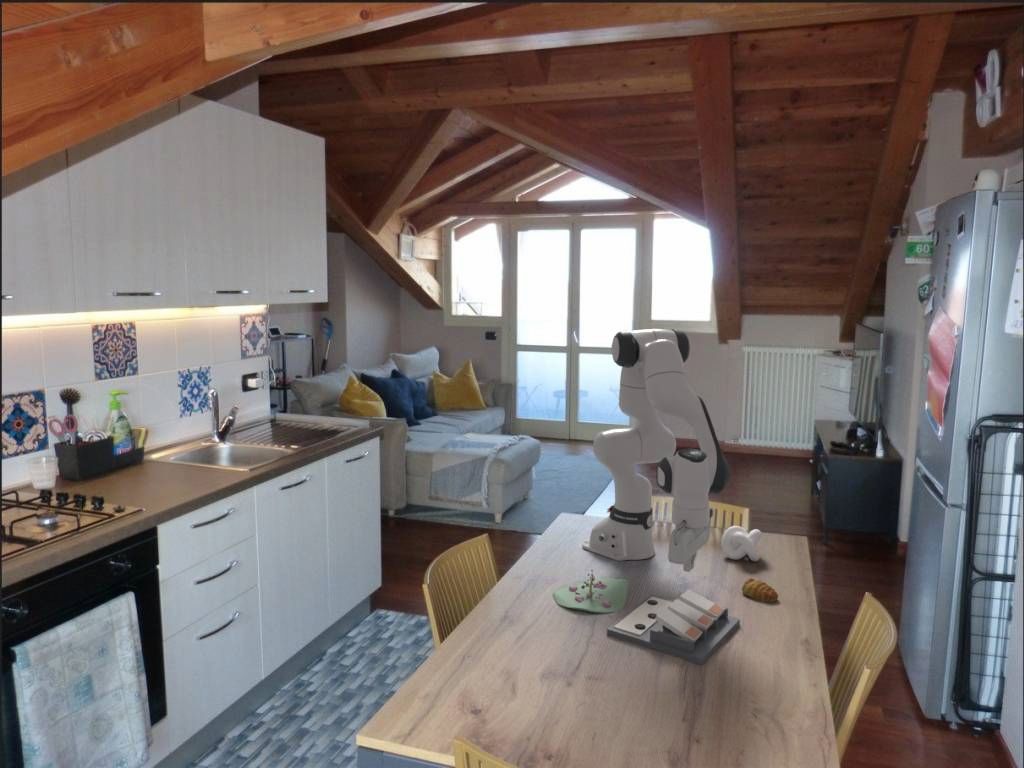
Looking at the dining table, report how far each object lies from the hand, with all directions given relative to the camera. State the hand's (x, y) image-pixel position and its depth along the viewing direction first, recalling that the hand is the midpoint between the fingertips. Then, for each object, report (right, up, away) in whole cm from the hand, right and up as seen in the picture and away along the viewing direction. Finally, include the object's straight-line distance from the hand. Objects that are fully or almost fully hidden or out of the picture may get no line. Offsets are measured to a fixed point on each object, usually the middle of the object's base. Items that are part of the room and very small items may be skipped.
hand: (688, 569), depth 193 cm
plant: (-21, -11, +17) cm, 30 cm away
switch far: (+3, -8, -1) cm, 9 cm away
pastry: (+23, -11, +17) cm, 31 cm away
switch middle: (-1, -9, -6) cm, 11 cm away
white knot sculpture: (+26, -7, +42) cm, 50 cm away
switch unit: (-4, -14, -3) cm, 15 cm away
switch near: (-5, -10, -12) cm, 16 cm away
